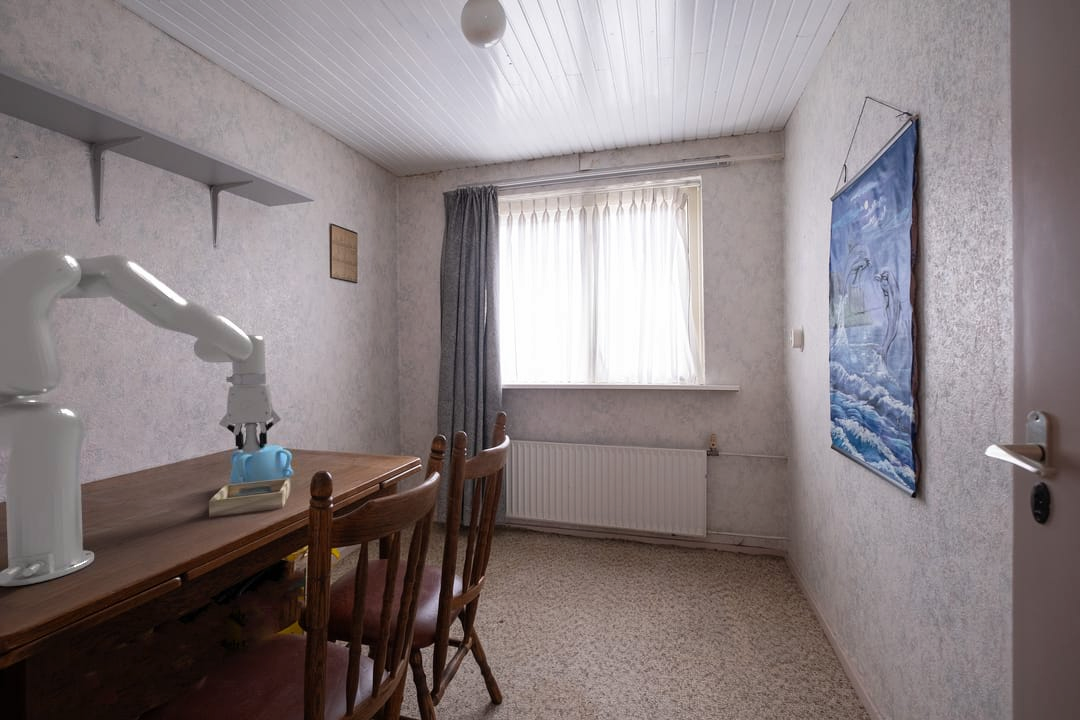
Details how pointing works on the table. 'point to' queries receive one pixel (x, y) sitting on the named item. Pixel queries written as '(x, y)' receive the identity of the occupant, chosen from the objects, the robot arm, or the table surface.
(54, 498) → the robot arm
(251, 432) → the rook chess piece
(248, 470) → the decorative pot
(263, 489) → the socket
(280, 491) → the beech box
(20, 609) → the table surface
